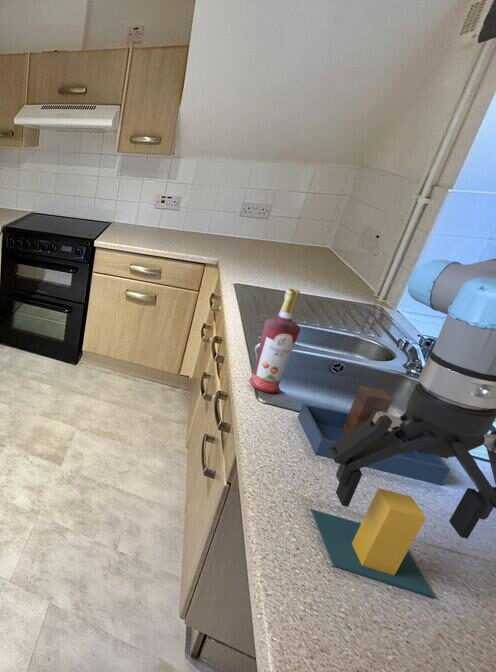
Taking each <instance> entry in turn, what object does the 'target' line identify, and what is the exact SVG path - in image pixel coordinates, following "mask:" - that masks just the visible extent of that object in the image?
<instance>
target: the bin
mask: <svg viewBox="0 0 496 672" xmlns="http://www.w3.org/2000/svg"><path fill="white" fill-rule="evenodd" d="M348 414H349V412H347V411H342V410H336V409H332V408H327V407H322V406H317V405H313V404H308V403H302V404H301V408H300V410H299V413H298V415H297V419H298V422H299V423H300V426H301V428H302V430H303V432H304V434H305V436H306V438H307V440H308V442H309V445H310V446H311V448H312V451H313V452H314V455H315V456H318V457H321V458H322V457H323V458H327V459H331V460H333V458H332V456H331V454H330V452H329V450H328V449H329V447H331V446H332V445H333V444H335V443H336V442H338V441H339V440H340V439H342V438H343V437H344V436H345V435H344V433H343V431H342V429H343V426H344V424H345V421H346V419H347V416H348ZM398 428H399V427H398V426H396V427H393V428H392V429H393V430H395V429H398ZM393 430H392V431H393ZM389 432H390V431H387V432H386V433H385V434H384V435H383V436H381V437H380V438H382V437H385V436H387V435H388V433H389ZM380 438H379V439H380ZM377 440H378V439H377ZM401 441H402V442H403V443H406V442H407V441H406V439H405V437H404V438H402V439H401ZM364 468H368V469H371V470H376V471H379V472H385V473H387V474H392V475H397V476H400V477H404V478H409V479H412V480H417V481H421V482H425V483H429V484H433V485H437V486H443V484H444V482H445V481H446V479H447V477H448V475H449V473H450V471H451V468H450V467H449V465H448V464H447V463H446V462H445V461H444V460H443V458H441V457H439V456H436V455H433V454H423V453H418V451H417V450H416V451H413V452H410V453H407V454H404V453H400V454H397V455H394V456H392V457H389V458H386V459H384V460H381V461H378V462H376V463H373V464H371V465H368V466H365V467H364Z"/></svg>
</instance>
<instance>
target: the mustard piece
mask: <svg viewBox="0 0 496 672" xmlns="http://www.w3.org/2000/svg"><path fill="white" fill-rule="evenodd" d="M426 519H427V517H426V516H425V514H424V512H423V511H422V510H421V508H420V506H419V505H418V504H417V503H416V501H415V499H414V498H413V497H412V496H411V495H407V494H403V493H399V492H395V491H391V490H388V489H384V488H380V487H378V488H377V490H376V491H375V493H374V495H373V498H372V499H371V502H370V504H369V506H368V509H367V510H366V513H365V515H364V516H363V519H362V521H361V522H360V523H361V525H360V527H359V529H358V531H357V533H356V536H355V538H354V540H353V542H352V545H353V547H354V550H355V552H356V554H357V556H358V558H359V560H360V563H361V565H362V566H365V567H368V568H371V569H375V570H378V571H381V572H384V573H388V574H391V575H395V573H396V572H397V570H398V568H399V566H400V564H401V563H402V561H403V559H404V557H405V555H406V553H407V552H409V550H410V548H411V546H412V544H413V543H414V541H415V539H416V537H417V535H418V534H419V532H420V531H421V528H422V526H423V525H424V522H425V521H426Z"/></svg>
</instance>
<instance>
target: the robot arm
mask: <svg viewBox="0 0 496 672" xmlns="http://www.w3.org/2000/svg"><path fill="white" fill-rule="evenodd" d="M407 292H408V294H409V296H410V297H411V298H412V299H413V300H414V301H416V302H418V303H420V304H422V305H424V306H427V307H428V308H430V309H432V310H433V311H436V312H440V313H442V314H445V315H446V317H445V320H444V321H443V324H442V326H441V329H440V331H439V334H438V336H437V339H436V341H435V343H434V346H433V348H432V349H431V351H430V353H429V355H428V357H427V359H426V361H425V364H424V366H423V368H422V370H421V372H420V374H419V376H418V383H416V384H415V385H414V388H413V390H412V393H411V395H410V397H409V399H408V401H407V404H406V409H405V412H404V413H402V415H400V416H397V415H393V414H390V413H385V412H384V410H383V409H380V408H377V409H375V410H374V411H373V412H372V414H371V416H370V417H369V419H368V420H367V421H365V422H364V423H363V424H361V425H360V426H358V427H357V428H356V429H354V430H353V431H351V432H350V433H349V434H347V435H346V436H344V437H343V438H342V439H340V440H339V441H338V442H336V443H335V444H333V445H332V446H331V447H329V449H328V450H329V452H330V454H331V456H332V458H333V459H332V460H333V461H334V463H335V464H338V468H337V470H336V472H335V477H336V479H337V481H338V486H337V488H336V490H335V494H336V496H337V498H338V500H339V502H340V505H341V506H343V507H345V508H349V506H350V504H351V502H352V499H353V498H354V495H355V493H356V490H357V488H358V486H359V483H360V481H361V478H362V476H363V473H362V471H361V469H362V468H366V467H365V466H368V465H371V464H373V463H376V462H378V461H381V460H384V459H386V458H389V457H392V456H394V455H397V454H400V453H404V454H407V453H410V452H413V451H416V450H417V451H418V453H423V454H433V455H436V456H439V457H440V458H441V459H446V460H448V459H449V458H456V460H457V461H458V463H459V464H460V466H461V468H462V469H463V470H464V472H465V473H466V475H467V476H468V477H469V479H470V480H471V481H472V483H473V485H474V486H475V487H476V489H477V490H478V491H477V490H476V489H475V488H470V487H467V488H466V490H465V492H464V493H463V495H462V497H461V498H460V501H459V503H458V504H457V505H456V508H455V509H454V511H453V513H452V515H451V517H450V519H449V520H448V522H449V524H450V525H451V526H452V528H453V529H454V531H455V532H456V533H457V534H458V536H459V537H460V538H463V539H466V540H467V539H469V537H470V535H471V534H472V532H473V531H474V529H475V527H476V525H477V524H478V523H479V520H483V521H484V520H486V519H487V518H489V516H490V514H491V513H492V511H493V510H494V509H496V486H492V485H491V483H490V482H489V480H488V479H487V477H486V475H485V474H484V473H483V471H482V470H481V468H480V467H479V466H478V463H477V462H476V460H475V458H474V457H473V455H472V454H471V453H470V451H473V450H474V449H477V448H479V447H481V446H484V448H486V452H487V456H488V459H489V464H490V468H491V473H492V477H493V481H494V484H495V485H496V430H494V431H491V432H490V430H491V428H492V426H493V425H494V423H495V421H496V257H495V258H491V259H487V260H483V261H478V262H473V263H469V264H462V263H461V262H460V261H455V260H453V261H451V260H447V259H435V260H434V259H433V260H430V261H427V262H425V263H423V264H422V265H420V266H419V267H417V268H416V269H414V271H413V272H412V273H411V275H410V276H409V279H408V282H407ZM396 426H398V427H399V428H398V429H395V430H393V429H392V428H393V427H396ZM392 430H393V431H392ZM387 431H390V432H389V433H388V435H387V436H385V437H382V438H380V437H381V436H383V435H384V434H385V433H386V432H387ZM489 432H490V433H489ZM404 437H405V439H406V441H407V442H406V443H403V442H402V441H401V439H402V438H404ZM379 438H380V439H379ZM377 439H378V440H377Z"/></svg>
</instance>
